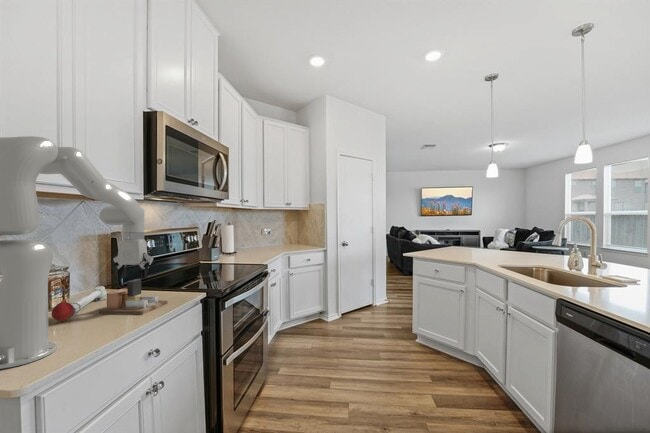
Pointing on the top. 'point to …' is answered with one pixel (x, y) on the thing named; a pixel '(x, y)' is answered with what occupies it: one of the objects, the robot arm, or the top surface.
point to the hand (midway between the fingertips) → (133, 278)
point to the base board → (132, 309)
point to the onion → (62, 311)
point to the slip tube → (132, 290)
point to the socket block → (116, 298)
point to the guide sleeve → (142, 302)
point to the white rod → (90, 298)
